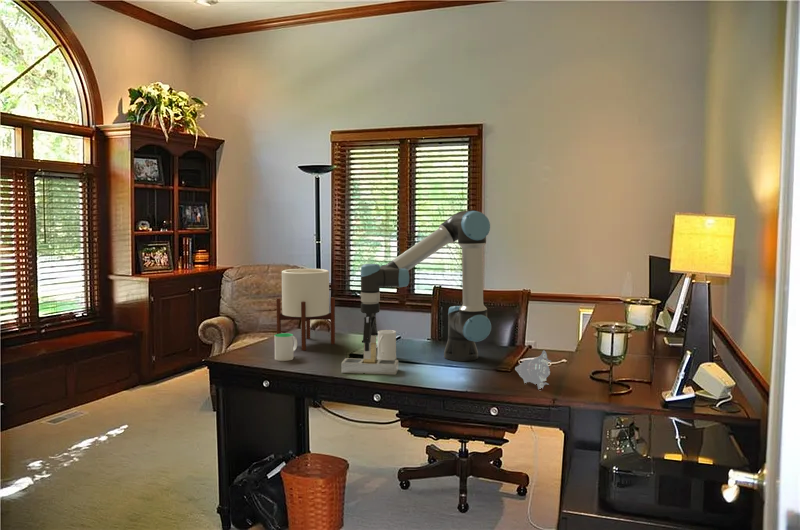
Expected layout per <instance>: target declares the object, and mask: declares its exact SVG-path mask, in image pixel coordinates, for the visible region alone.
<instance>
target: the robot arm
mask: <svg viewBox="0 0 800 530" xmlns="http://www.w3.org/2000/svg"><path fill="white" fill-rule="evenodd" d="M490 230H491V223H490V220H489V218H488V216H486V214H484V213H483V212H481V211H477V210H460V211H458V212H457V213H455V214H453V215H452V216H450V217H448V218H447V219H446V220H445V221H443V222H442V223H441V224H439V225H438V228H437V229H436V230H434V231H433V232H431V233H430V234H429V235H427V236H426V237H424V238H422V239H421V240H420V241H418V242H417V243H416V244H414V245H413V246H411V247H410V248H408V249H407V250H405V251H403V252H402V253H401V254H400V255H398V256H396V257H395V258H393V259H392V260H390V261H389V262H388V263H386V264H383V265H380V264H377V263H364V264H361V266H360V267H361V268H360V293H359V295H358V296H359V297H360V302H361V303H360V312H361V313H363V314H366V315H365V316H364V318H363V320H364V323H363V335H362V340H361V343H362V344H363V359H371V343H376V344H377V336H378V328H377V314H378V313H380V309H381V308H380V306H381V305H380V303H379V302H380V301H381V297H380V296H381V295H380V294H381V291H380V290H381V289H380V288H383V289H384V288H403V287H404V288H406V287H408V285H409V284H410V272H409V271H410V270H411V269H413V268H414V267H416V266H417V265H419V264H420V263H422V262H423V261H424V260H426V259H427V258H429V257H430V256H432V255H434V253H436V252H437V251H438V252H439V250H440V249H442V248H443V247H445V246H446V245H448V244H453V243H454V242H457V245H459V246H460V247H461V269H462V270H461V274H462V276H461V278H462V279H461V280H462V283H461V284H462V305H453V306H450V307H449V308H448V313H447V315H448V316H447V321H448V322H447V342H446V344H445V348H444V350H443V358H445V359H446V360H448V361H449V360H450V361H455V362H456V361H457V362H458V361H459V362H469V361H476V360H477V359H479V351H478V348H477V345H476V343H477V342H482V341H484V340H486V338H488V337H489V335H490V333H491V331H492V324H491V321H490V318H488V308H487V307H486V306H485V304H484V267H483V266H484V261H483V257H484V256H483V254H484V253H483V252H484V251H483V248H484V246H485V245H486V244H487V236H488V235H489V233H490Z"/></svg>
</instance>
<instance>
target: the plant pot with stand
mask: <svg viewBox="0 0 800 530" xmlns="http://www.w3.org/2000/svg"><path fill="white" fill-rule="evenodd" d="M275 300H276V334H281V333H282V320H283V321H299V320H300V323H301V324H300V325H301V335H300V336H301V339H300V340H301V351H303V352H304V351H307V340H311V321H312V320H315V321H316V320H323V321H324V320H330V345H335V344H336V318H335V317H336V316H335V315H336V307H335V306H336V303H335V301H336V298H335V297H333V296H332V297H330V270H328V269H323V268H289V269H284V270H282V271H281V297H276V299H275Z"/></svg>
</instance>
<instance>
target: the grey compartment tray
mask: <svg viewBox="0 0 800 530" xmlns="http://www.w3.org/2000/svg"><path fill="white" fill-rule="evenodd" d="M340 367H341V368H340V369H341V371H340V372H341V373H342V374H343V373H344V374H363V373H365V374H366V375H367V374H369V375H391V376H393V375H397V373H398V371H399V359H395V360H384V359H377V358H376V363H364V358H353V357H350V358H348V357H347V358H346V357H345V358H344V359H343V360H342V362H341V366H340Z"/></svg>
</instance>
